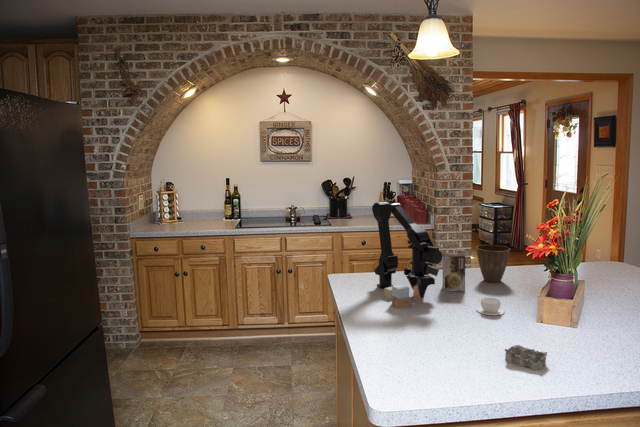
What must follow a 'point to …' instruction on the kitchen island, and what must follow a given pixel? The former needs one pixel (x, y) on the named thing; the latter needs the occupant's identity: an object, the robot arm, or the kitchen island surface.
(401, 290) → the tower mid
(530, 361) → the egg carton
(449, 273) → the coffee box
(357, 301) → the kitchen island surface
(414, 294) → the terracotta cylinder
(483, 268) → the plant pot
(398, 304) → the tower base
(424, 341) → the kitchen island surface
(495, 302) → the teacup
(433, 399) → the kitchen island surface
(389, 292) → the olive block
